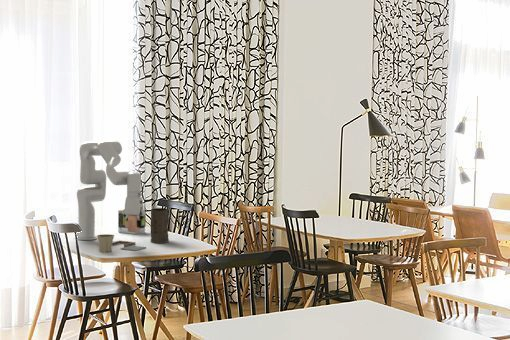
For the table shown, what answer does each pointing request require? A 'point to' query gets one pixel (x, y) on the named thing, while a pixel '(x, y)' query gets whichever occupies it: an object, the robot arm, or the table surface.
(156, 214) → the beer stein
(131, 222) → the jug
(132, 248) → the coaster
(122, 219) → the tea box
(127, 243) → the cradle
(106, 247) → the flower pot
